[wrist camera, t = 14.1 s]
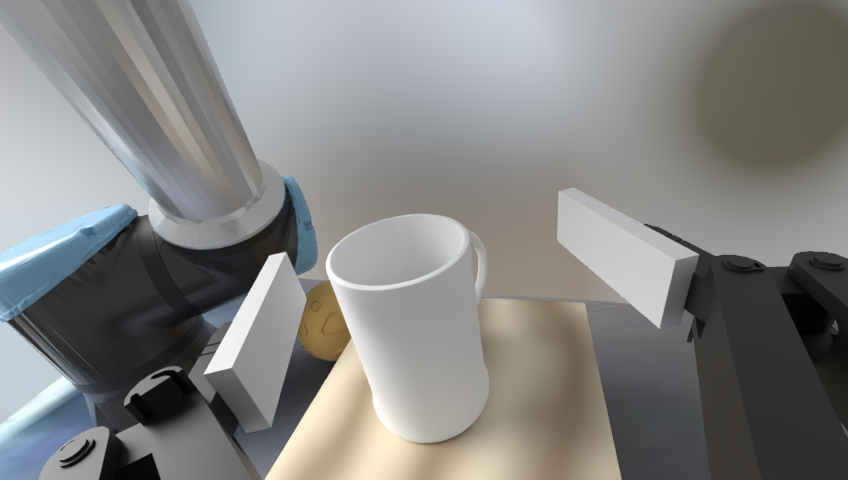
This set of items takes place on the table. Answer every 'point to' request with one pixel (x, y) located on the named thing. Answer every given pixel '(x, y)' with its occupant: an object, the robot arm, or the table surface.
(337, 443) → the footstool
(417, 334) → the mug
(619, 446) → the table surface
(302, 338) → the stress ball
